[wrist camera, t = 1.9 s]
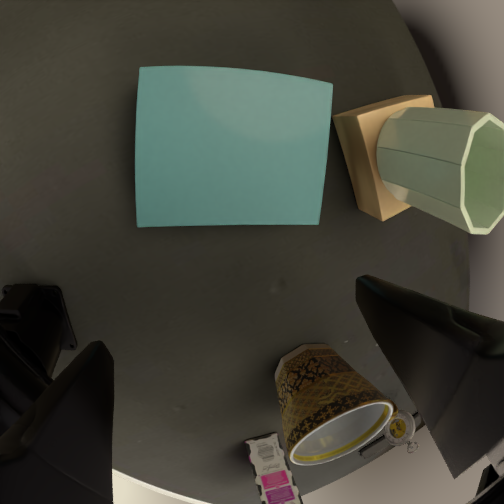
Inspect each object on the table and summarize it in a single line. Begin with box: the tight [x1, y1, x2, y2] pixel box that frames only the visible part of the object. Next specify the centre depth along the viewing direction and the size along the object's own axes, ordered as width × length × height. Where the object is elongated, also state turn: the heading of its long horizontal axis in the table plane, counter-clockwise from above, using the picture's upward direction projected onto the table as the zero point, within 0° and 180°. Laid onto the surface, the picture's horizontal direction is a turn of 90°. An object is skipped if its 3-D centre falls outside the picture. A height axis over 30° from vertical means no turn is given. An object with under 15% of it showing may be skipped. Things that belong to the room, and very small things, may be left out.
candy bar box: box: [245, 433, 303, 504], centre depth 28 cm, size 11×5×16 cm, turn 9°
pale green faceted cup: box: [376, 107, 504, 234], centre depth 15 cm, size 7×7×8 cm
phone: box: [360, 413, 421, 459], centre depth 47 cm, size 7×1×15 cm
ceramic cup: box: [275, 344, 398, 465], centre depth 25 cm, size 13×10×10 cm
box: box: [135, 66, 333, 227], centre depth 17 cm, size 9×11×4 cm
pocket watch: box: [383, 410, 419, 453], centre depth 35 cm, size 8×8×10 cm
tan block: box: [332, 95, 434, 221], centre depth 20 cm, size 8×8×4 cm
